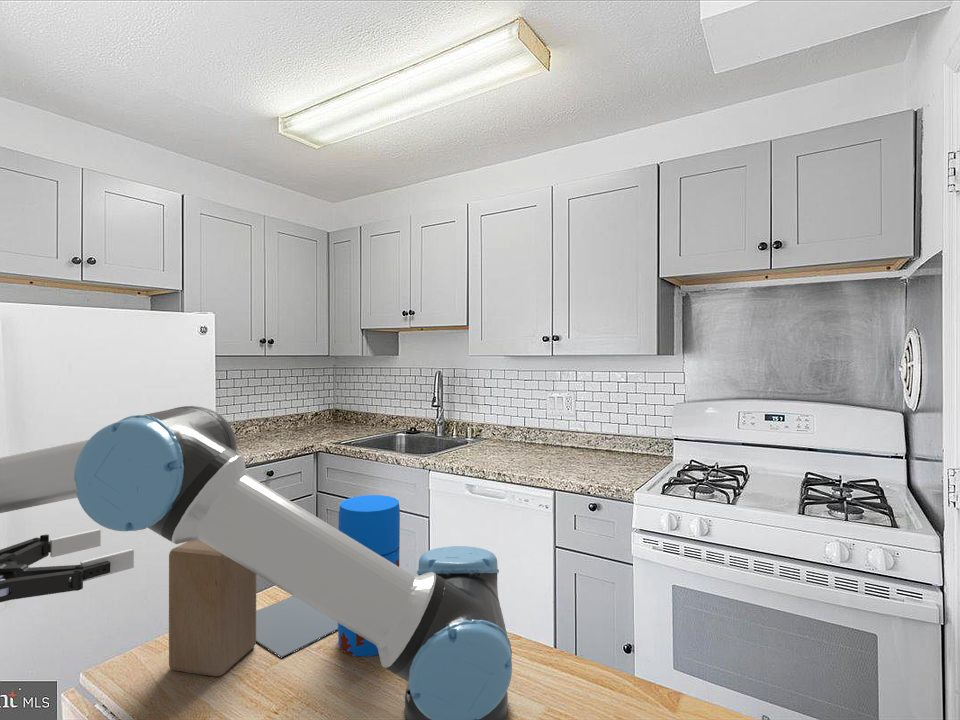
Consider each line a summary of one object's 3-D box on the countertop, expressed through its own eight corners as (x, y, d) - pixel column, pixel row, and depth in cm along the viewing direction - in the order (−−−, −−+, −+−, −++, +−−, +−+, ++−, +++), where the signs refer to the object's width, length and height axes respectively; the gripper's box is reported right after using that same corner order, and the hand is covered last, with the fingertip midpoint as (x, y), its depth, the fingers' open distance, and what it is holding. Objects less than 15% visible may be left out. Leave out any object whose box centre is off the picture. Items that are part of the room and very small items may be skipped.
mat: (376, 611, 107) (376, 609, 107) (281, 658, 91) (281, 656, 91) (320, 586, 118) (320, 584, 118) (227, 624, 102) (227, 622, 102)
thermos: (381, 619, 104) (382, 491, 104) (410, 643, 96) (411, 504, 96) (327, 637, 98) (328, 501, 97) (353, 664, 89) (355, 515, 89)
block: (220, 680, 85) (220, 554, 84) (165, 671, 87) (166, 549, 86) (258, 646, 94) (259, 533, 94) (208, 639, 96) (209, 529, 96)
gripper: (-91, 594, 76) (87, 551, 93) (-58, 659, 61) (148, 593, 78) (-91, 541, 76) (87, 508, 92) (-58, 593, 60) (148, 542, 77)
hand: (115, 547), depth 85 cm, fingers open, 13 cm apart
